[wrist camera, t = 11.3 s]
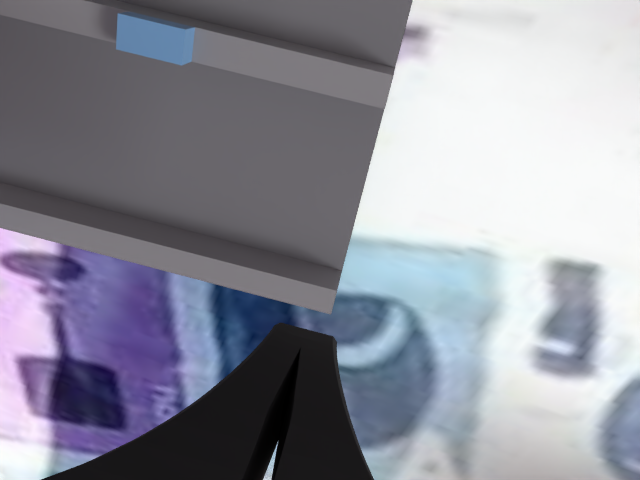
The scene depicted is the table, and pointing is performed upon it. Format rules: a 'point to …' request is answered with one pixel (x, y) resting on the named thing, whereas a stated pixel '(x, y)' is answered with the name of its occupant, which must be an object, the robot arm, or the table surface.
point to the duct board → (197, 132)
